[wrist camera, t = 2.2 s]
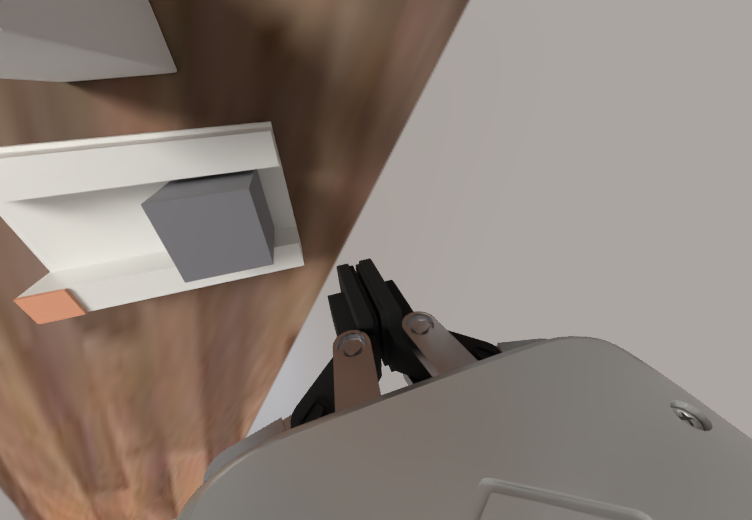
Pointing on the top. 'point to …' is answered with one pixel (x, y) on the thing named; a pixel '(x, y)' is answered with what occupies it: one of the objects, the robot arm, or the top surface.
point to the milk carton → (80, 40)
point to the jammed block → (213, 224)
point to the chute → (126, 211)
